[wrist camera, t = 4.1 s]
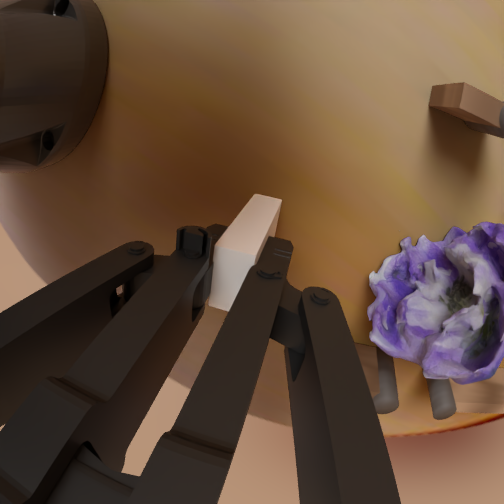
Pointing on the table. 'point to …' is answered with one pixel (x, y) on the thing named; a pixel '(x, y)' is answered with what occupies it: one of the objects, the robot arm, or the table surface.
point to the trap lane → (381, 364)
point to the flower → (444, 304)
